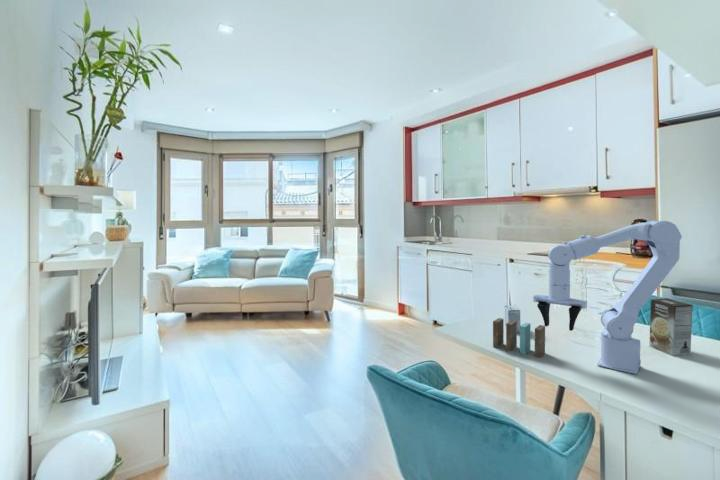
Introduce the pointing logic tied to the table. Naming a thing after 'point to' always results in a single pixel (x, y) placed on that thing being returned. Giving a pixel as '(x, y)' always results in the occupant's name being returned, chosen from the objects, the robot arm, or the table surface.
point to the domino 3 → (539, 341)
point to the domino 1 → (511, 335)
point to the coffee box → (671, 326)
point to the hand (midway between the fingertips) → (558, 327)
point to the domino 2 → (524, 338)
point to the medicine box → (512, 315)
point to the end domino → (498, 332)
